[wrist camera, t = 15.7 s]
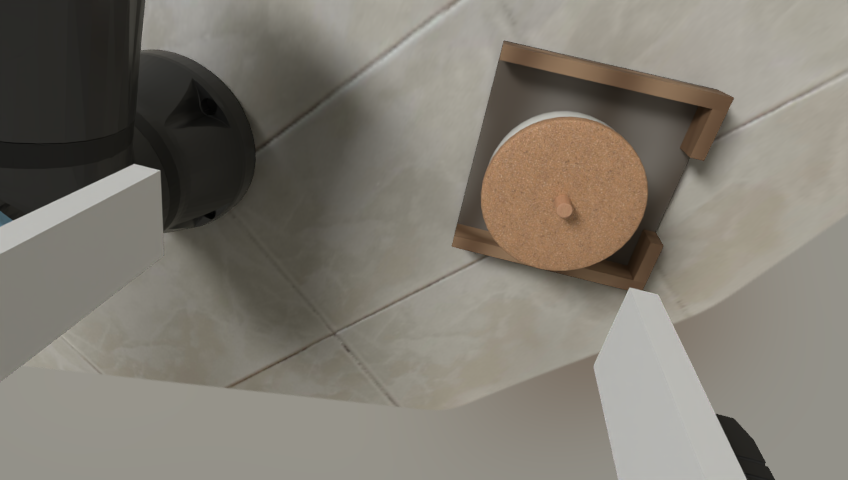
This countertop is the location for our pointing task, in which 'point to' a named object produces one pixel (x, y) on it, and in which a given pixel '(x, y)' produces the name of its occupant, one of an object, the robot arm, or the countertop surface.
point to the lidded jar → (563, 191)
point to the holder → (621, 110)
